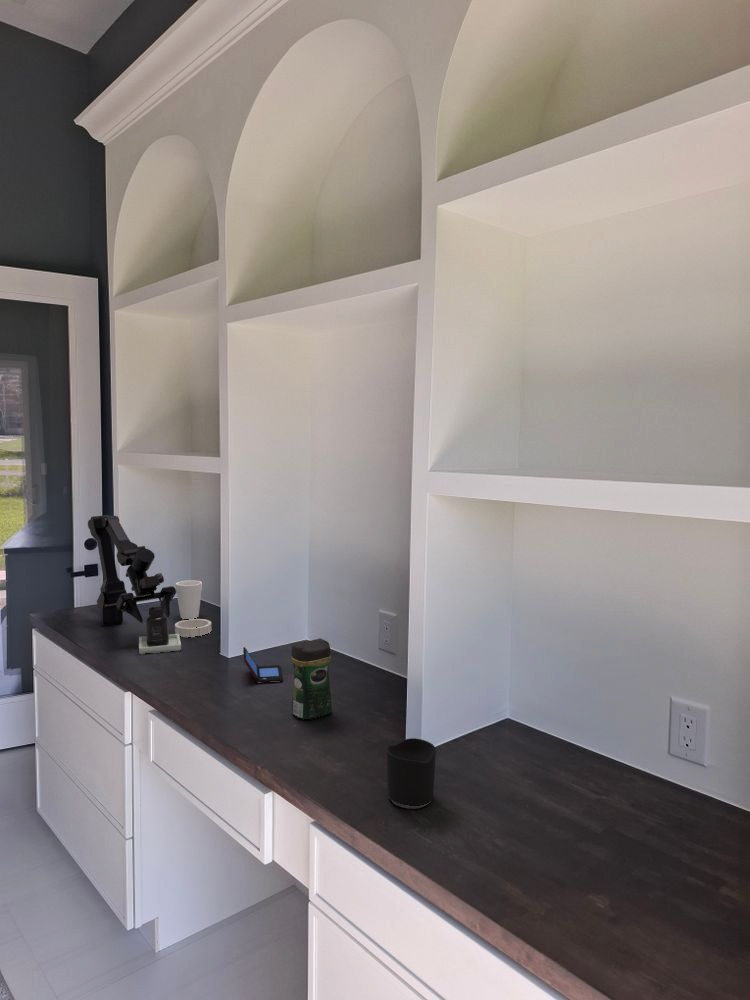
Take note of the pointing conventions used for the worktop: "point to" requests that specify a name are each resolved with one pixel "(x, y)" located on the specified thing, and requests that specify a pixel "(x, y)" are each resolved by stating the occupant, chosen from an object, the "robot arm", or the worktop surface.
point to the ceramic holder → (193, 627)
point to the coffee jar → (311, 679)
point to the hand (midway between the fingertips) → (155, 619)
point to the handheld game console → (262, 669)
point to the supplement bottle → (157, 627)
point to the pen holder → (411, 772)
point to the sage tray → (172, 646)
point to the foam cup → (189, 598)
